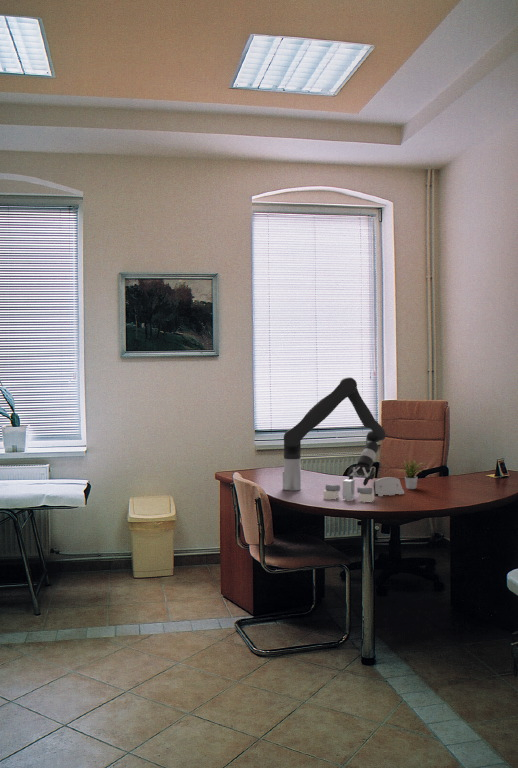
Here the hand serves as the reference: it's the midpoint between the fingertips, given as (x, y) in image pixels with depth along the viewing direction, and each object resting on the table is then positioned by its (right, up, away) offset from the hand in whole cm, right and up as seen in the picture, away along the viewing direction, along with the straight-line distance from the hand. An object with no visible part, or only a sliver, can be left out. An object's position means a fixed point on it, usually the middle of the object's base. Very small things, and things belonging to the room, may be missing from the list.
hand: (356, 483), depth 350 cm
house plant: (+34, -6, +21) cm, 40 cm away
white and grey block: (+3, -7, -11) cm, 13 cm away
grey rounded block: (+17, -7, +8) cm, 20 cm away
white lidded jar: (-14, -7, -3) cm, 16 cm away
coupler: (-5, -7, -7) cm, 11 cm away
